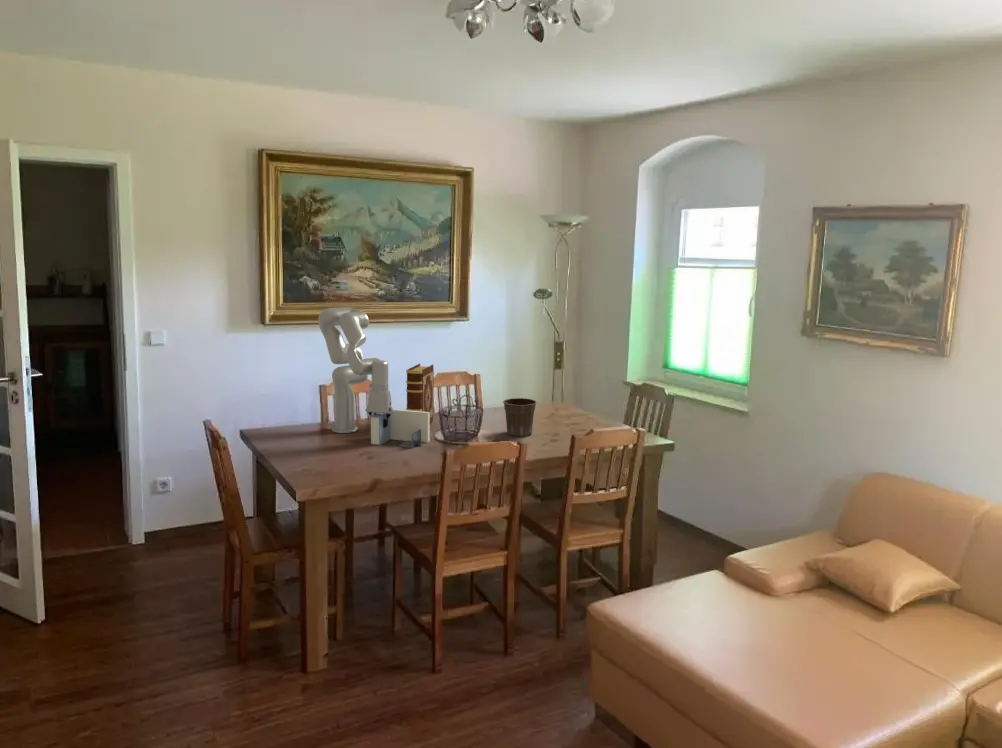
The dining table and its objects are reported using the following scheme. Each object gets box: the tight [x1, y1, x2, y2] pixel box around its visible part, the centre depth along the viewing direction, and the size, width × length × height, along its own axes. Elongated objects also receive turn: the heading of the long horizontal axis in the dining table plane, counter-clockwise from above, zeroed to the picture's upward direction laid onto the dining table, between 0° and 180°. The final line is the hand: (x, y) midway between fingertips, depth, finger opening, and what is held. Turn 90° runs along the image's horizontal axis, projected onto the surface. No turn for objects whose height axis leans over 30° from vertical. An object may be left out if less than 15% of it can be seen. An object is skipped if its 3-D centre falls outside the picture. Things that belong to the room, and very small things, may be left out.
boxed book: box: [370, 412, 391, 446], centre depth 354 cm, size 4×11×13 cm, turn 164°
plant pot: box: [502, 397, 538, 437], centre depth 375 cm, size 16×16×16 cm
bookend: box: [397, 429, 423, 449], centre depth 351 cm, size 10×10×6 cm
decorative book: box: [405, 363, 435, 424], centre depth 385 cm, size 22×8×30 cm, turn 168°
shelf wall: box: [389, 408, 431, 444], centre depth 359 cm, size 26×3×14 cm, turn 74°
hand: (380, 426), depth 354 cm, fingers closed on boxed book, 4 cm apart
